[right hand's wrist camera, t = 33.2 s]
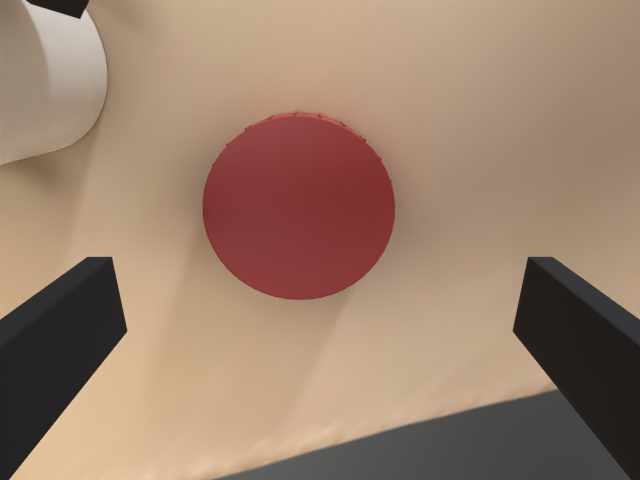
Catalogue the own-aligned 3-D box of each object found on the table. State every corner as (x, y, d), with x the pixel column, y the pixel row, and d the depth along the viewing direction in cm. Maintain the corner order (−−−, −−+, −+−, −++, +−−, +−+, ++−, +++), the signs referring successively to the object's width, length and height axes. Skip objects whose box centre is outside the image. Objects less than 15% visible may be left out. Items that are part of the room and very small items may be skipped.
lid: (384, 102, 20) (394, 103, 18) (390, 273, 24) (398, 291, 22) (195, 121, 21) (181, 125, 18) (229, 289, 24) (221, 309, 22)
